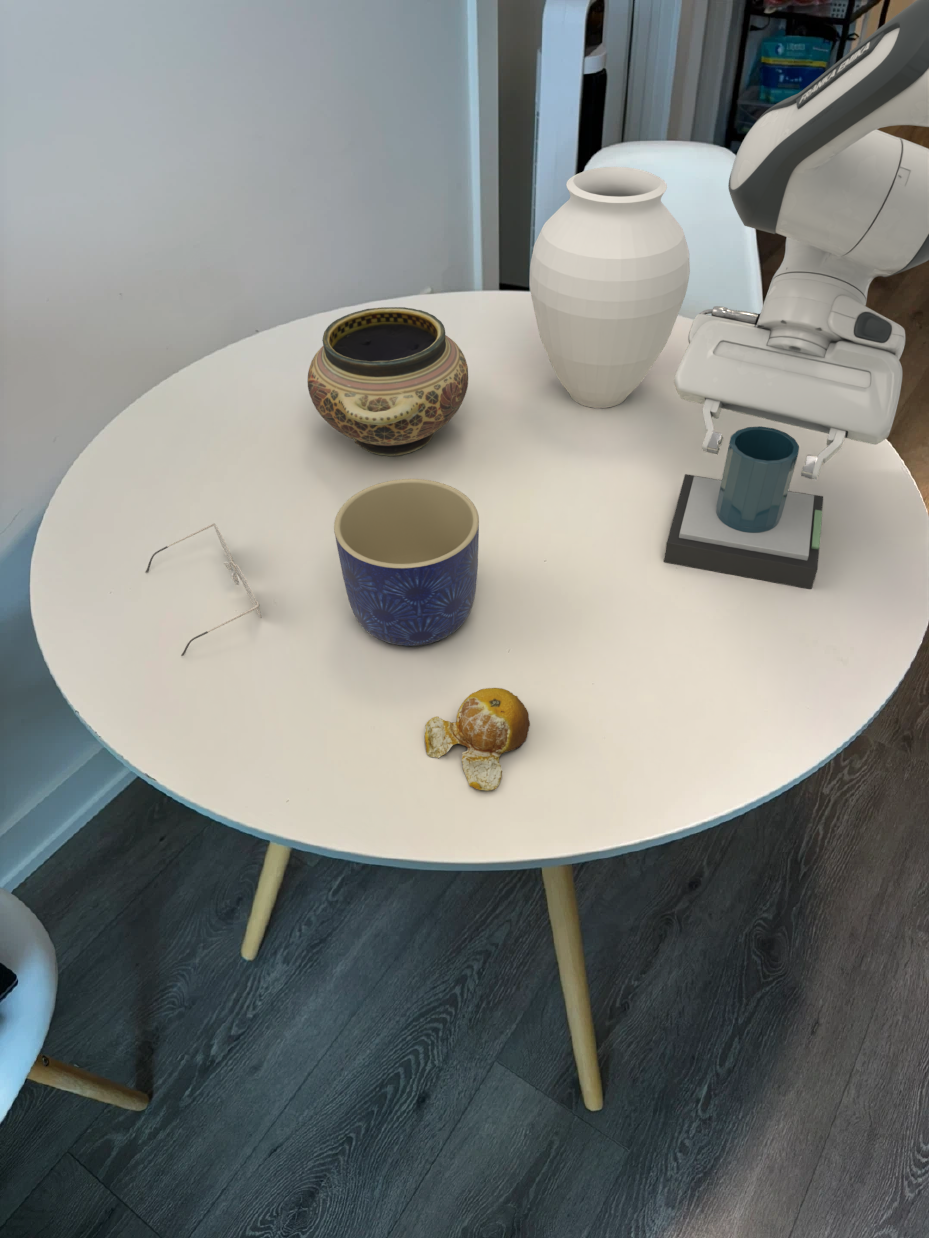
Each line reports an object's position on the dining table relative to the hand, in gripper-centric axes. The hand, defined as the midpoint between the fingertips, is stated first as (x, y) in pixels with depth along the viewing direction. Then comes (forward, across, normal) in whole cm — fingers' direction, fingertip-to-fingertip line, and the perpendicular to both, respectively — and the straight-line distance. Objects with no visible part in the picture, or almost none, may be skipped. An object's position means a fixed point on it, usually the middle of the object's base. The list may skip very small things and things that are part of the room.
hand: (758, 464), depth 87 cm
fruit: (+32, -12, -19) cm, 39 cm away
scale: (+6, 0, +6) cm, 9 cm away
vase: (-8, -24, +21) cm, 32 cm away
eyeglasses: (+29, -43, -16) cm, 54 cm away
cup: (+4, 0, +4) cm, 6 cm away
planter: (+24, -24, -11) cm, 36 cm away
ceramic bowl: (+6, -42, +7) cm, 43 cm away
